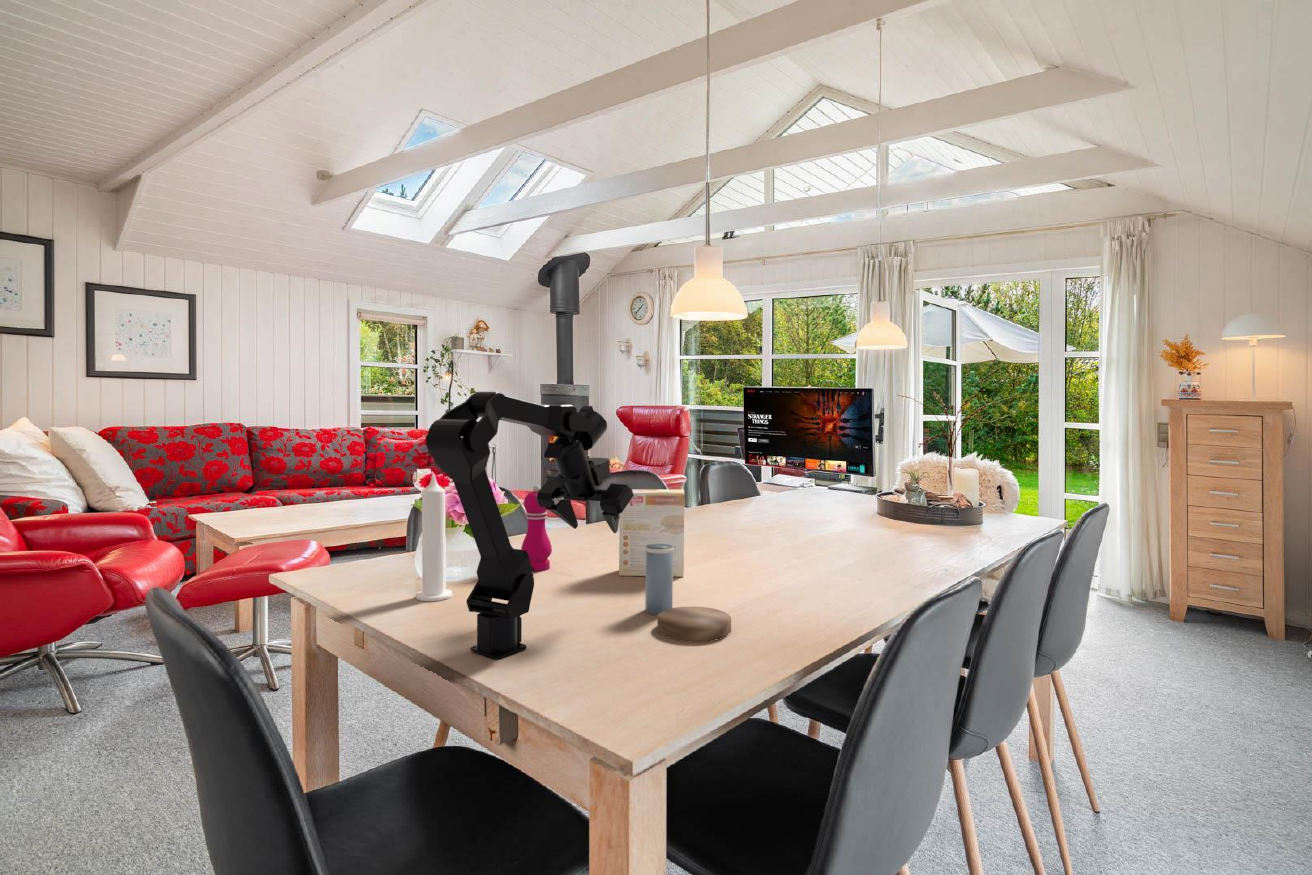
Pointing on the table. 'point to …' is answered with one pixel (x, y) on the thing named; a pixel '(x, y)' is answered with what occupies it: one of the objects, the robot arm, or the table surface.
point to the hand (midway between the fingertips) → (595, 529)
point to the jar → (659, 578)
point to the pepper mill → (536, 533)
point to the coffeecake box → (651, 529)
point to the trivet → (694, 623)
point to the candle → (433, 544)
